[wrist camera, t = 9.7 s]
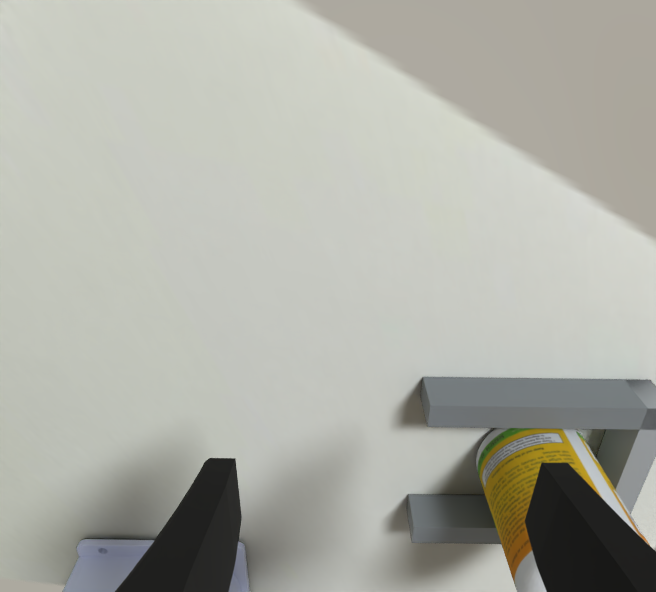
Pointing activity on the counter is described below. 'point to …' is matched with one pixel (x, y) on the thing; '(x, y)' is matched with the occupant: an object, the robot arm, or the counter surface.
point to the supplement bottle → (518, 485)
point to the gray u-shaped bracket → (535, 412)
